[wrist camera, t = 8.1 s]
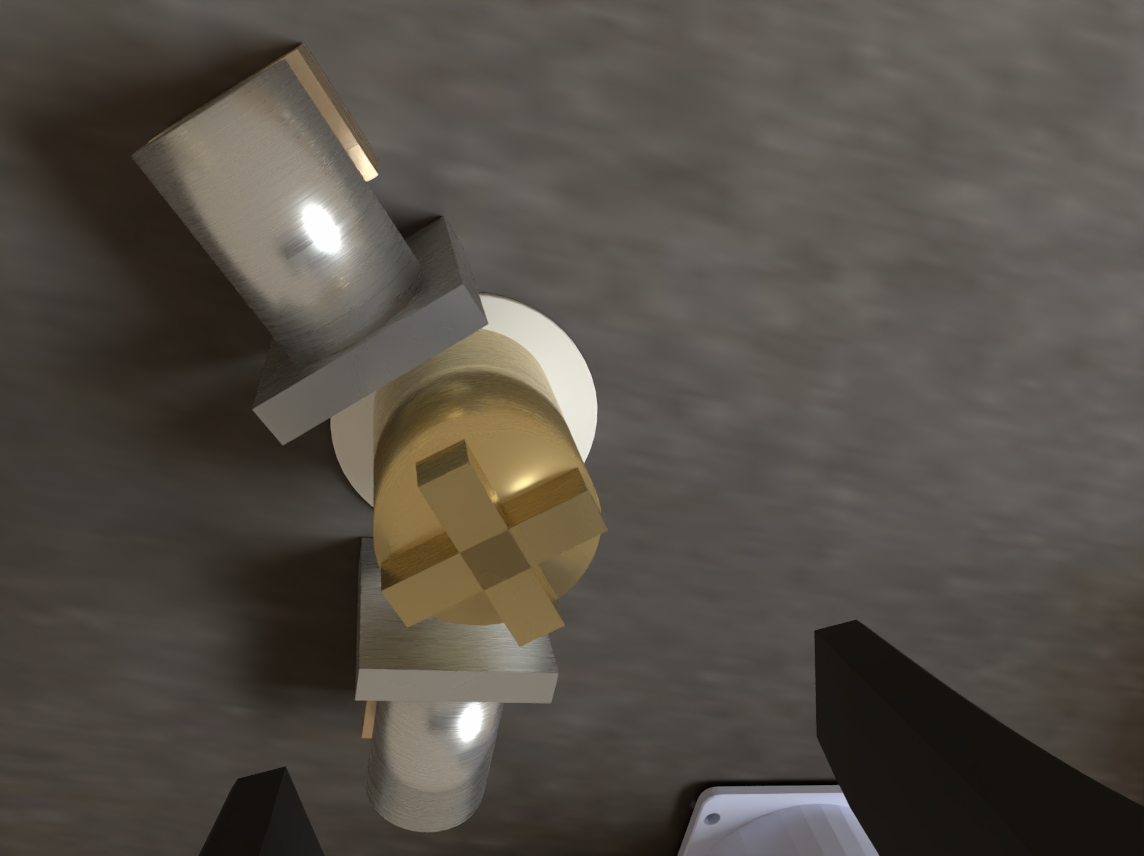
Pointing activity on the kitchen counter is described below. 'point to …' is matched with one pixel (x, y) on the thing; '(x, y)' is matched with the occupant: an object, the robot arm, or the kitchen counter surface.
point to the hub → (479, 491)
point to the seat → (530, 332)
